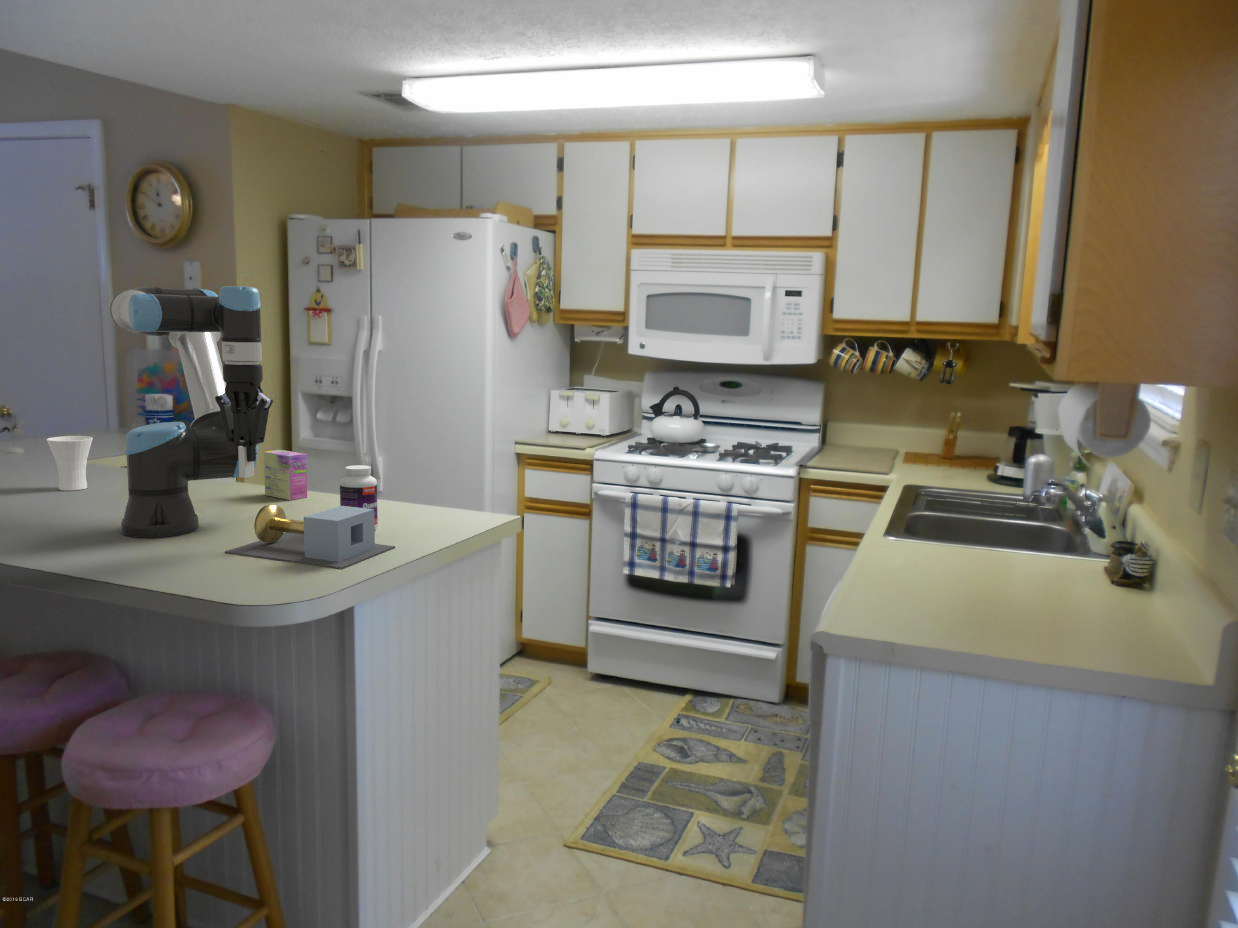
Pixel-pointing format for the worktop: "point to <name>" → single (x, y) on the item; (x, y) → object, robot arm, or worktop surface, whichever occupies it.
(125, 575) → the worktop surface
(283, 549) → the mat
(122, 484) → the worktop surface
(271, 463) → the box
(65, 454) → the cup
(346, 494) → the pill bottle
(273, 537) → the pin
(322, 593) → the worktop surface
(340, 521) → the block
